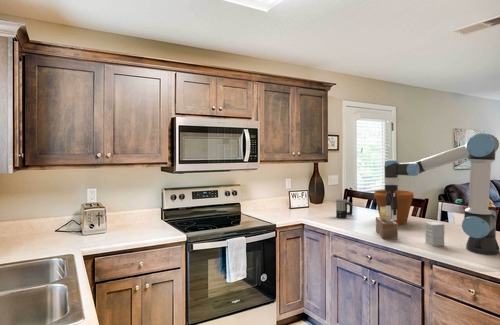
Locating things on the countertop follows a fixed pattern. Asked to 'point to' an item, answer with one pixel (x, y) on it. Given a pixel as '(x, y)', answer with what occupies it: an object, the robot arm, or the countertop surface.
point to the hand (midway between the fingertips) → (391, 217)
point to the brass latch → (383, 213)
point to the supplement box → (434, 233)
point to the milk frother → (343, 208)
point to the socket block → (386, 229)
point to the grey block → (388, 220)
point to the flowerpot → (402, 201)
